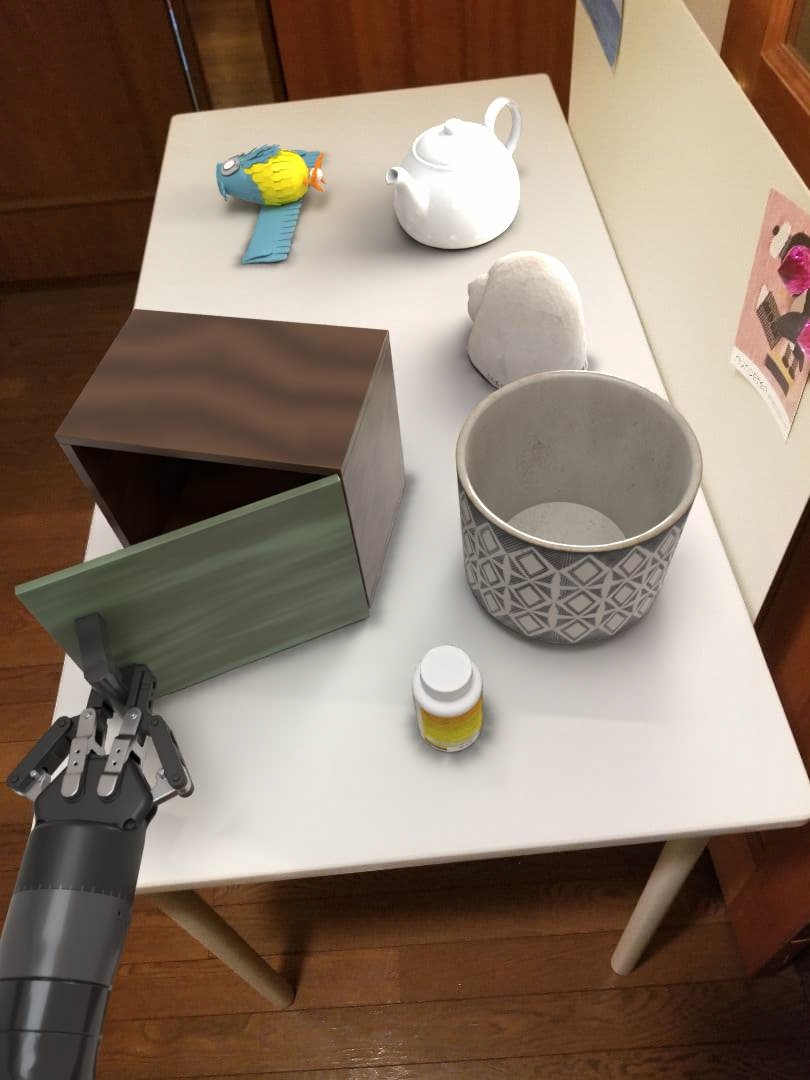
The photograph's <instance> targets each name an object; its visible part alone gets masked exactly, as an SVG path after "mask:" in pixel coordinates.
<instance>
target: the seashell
mask: <svg viewBox="0 0 810 1080" xmlns="http://www.w3.org/2000/svg"><path fill="white" fill-rule="evenodd" d="M467 296H468V300H467V312H468V313H467V314H468V316H469V318H470V320H471V321H472V323H473V325H472V328H471V332H470V333H469V334H470V335H469V337H468V341H467V354H468V357H469V358H470V361H471V363H472V365H473V366H474V367H475V368H476V369H477V370H478V371H479V372H480V374H482V376H483V377H484V378H485V379H486V380H487V381H488V382H489V383H490V384H491V385H492V386H493V387H495V388H497V389H500V388H501V387H503V386H505V385H507V384H509V383H512V382H514V381H516V380H519V379H522V378H525V377H528V376H531V375H535V374H540V373H545V372H552V371H563V370H582V371H588V368H589V362H588V357H587V349H586V348H587V347H586V335H585V332H586V331H585V330H586V329H585V320H584V319H585V318H584V312H583V311H584V310H583V305H582V300H581V297H580V293H579V289H578V287H577V285H576V283H575V281H574V279H573V277H572V275H571V274H570V272H569V271H568V269H567V268H566V267H565V265H564V264H563V263H561V262H560V261H559V260H558V259H556V258H555V257H553V256H551V255H548V254H546V253H542V252H538V251H534V250H526V251H525V250H523V251H522V250H521V251H516V252H513V253H509V254H507V255H504V256H502V257H501V258H499V259H498V260H497V261H495V262H494V263H493V264H492V266H491V267H490V269H488V271H487V272H486V273H482V274H480V275H477V276H476V277H475V278H474V279H473V280H471V281H470V282H469V283H468V284H467Z"/></svg>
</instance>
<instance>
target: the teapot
mask: <svg viewBox="0 0 810 1080" xmlns="http://www.w3.org/2000/svg"><path fill="white" fill-rule="evenodd" d="M505 106H506V107H507V109H509V111H510V114H511V129H510V132H509V136H508V139H507V140H506V143H505V145H504V144H503V143H502V142H501V141H500V140H499V139H498V138H497V136H496V134H495V131H494V127H495V126H494V125H495V120H496V118H497V115H498V114H499V112H500V110H502V109H503V107H505ZM482 122H483V124H479V123H476V122H472V121H462V120H461V119H459V118H449V119H448V120H446V121H445V122H444V123H442V124H438V125H436V126H433V127H430V128H429V129H427V130H424V131H423V132H422V133H420V134H419V135H418V136H417V137H416V138H415V140H414V141H413V143H412V145H411V147H409V149H408V151H407V152H406V153H405V155H404V157H402V159H401V162H400V164H399V166H394V167H391V168H389V169H388V170H387V171H386V172H385V175H384V182H385V183H386V184H387V186H393V206H394V210H395V211H394V212H395V214H396V217H397V220H398V223H399V224H400V226H401V227H402V229H403V230H404V231H405V232H406V234H408V235H409V236H410V237H411V238H412V239H414V240H415V241H416V242H419V243H421V244H422V245H425V246H429V247H434V248H437V249H447V250H459V249H469V248H473V247H477V246H480V245H483V244H486V243H488V242H490V241H492V240H494V239H495V238H497V237H499V236H500V235H501V234H502V233H504V232H505V231H506V230H507V229H508V227H509V226H510V225H511V224H512V222H513V221H514V219H515V217H516V215H517V211H518V208H519V202H520V179H519V173H518V169H517V166H516V164H515V162H514V160H513V157H512V156H513V155H514V152H515V150H516V148H517V146H518V143H519V141H520V139H521V135H522V131H523V116H522V112H521V109H520V108H519V105H518V104H517V103H516V101H515V100H513V99H512V98H510V97H507V96H499V97H497V98H496V99H493V101H492V102H491V103H490V105H489V106H488V107H487V109H486V111H485V114H484V118H483V121H482Z"/></svg>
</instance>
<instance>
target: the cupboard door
mask: <svg viewBox="0 0 810 1080" xmlns="http://www.w3.org/2000/svg"><path fill="white" fill-rule="evenodd" d="M14 594H15V596H16V598H17V599H18V600H19V601H20V602H21V603H22V604H23V605H24V607H25V608H26V609H27V610H28V611H29V612H30V614H31V615H32V616H33V617H34V618H35V619H36V620H37V622H38V623H39V624H40V625H41V626H42V628H43V629H44V630H45V631H46V632H47V633H48V634H49V636H50V637H51V638H52V639H53V640H54V641H55V642H56V644H57V645H58V646H59V647H60V648H61V649H62V650H63V651H64V652H65V654H66V655H67V656H68V657H69V658H70V659H71V661H72V662H73V663H74V664H75V665H76V666H77V667H78V669H79V670H80V671H81V672H82V673H83V678H84V680H85V681H86V682H87V684H88V685H89V686H91V687H92V688H93V689H94V690H95V691H96V692H97V693H98V695H99V696H100V697H101V698H102V699H103V700H104V701H105V702H106V704H107V705H108V706H109V707H110V708H111V709H112V710H113V712H114V714H115V715H116V716H117V718H119V720H120V721H121V722H122V723H123V720H124V716H125V713H126V711H127V710H128V709H127V708H126V707H125V705H126V701H127V696H128V692H129V688H130V684H131V679H132V675H133V671H134V667H135V665H136V664H146V665H147V666H148V667H149V669H150V670H151V672H152V673H153V675H154V676H155V678H156V679H157V683H158V686H157V691H156V696H155V700H156V699H158V698H161V697H164V696H167V695H169V694H171V693H174V692H177V691H179V690H181V689H184V688H187V687H189V686H192V685H195V684H197V683H200V682H203V681H205V680H207V679H210V678H213V677H215V676H218V675H221V674H223V673H226V672H229V671H231V670H234V669H236V668H239V667H243V666H244V665H247V664H250V663H253V662H255V661H258V660H260V659H262V658H265V657H267V656H270V655H273V654H275V653H278V652H281V651H284V650H286V649H288V648H291V647H294V646H296V645H300V644H301V643H304V642H307V641H309V640H311V639H314V638H317V637H320V636H322V635H325V634H327V633H329V632H332V631H336V630H338V629H341V628H343V627H346V626H348V625H352V624H354V623H356V622H358V621H361V620H364V619H367V618H369V617H370V612H369V608H368V606H367V602H366V597H365V592H364V588H363V583H362V579H361V574H360V569H359V565H358V560H357V556H356V551H355V546H354V542H353V537H352V533H351V528H350V523H349V519H348V514H347V510H346V505H345V500H344V496H343V491H342V487H341V482H340V479H339V477H338V475H337V474H335V475H332V476H329V477H326V478H323V479H320V480H318V481H315V482H312V483H309V484H306V485H303V486H300V487H298V488H295V489H292V490H289V491H286V492H283V493H280V494H278V495H275V496H272V497H269V498H266V499H263V500H261V501H258V502H255V503H252V504H249V505H246V506H243V507H241V508H238V509H235V510H232V511H229V512H226V513H224V514H221V515H218V516H215V517H212V518H209V519H206V520H204V521H201V522H198V523H195V524H192V525H189V526H186V527H184V528H181V529H178V530H175V531H172V532H169V533H167V534H164V535H161V536H158V537H155V538H152V539H149V540H147V541H144V542H141V543H138V544H135V545H132V546H129V547H127V548H121V549H119V550H115V551H113V552H109V553H107V554H104V555H100V556H98V557H96V558H93V559H90V560H87V561H83V562H81V563H78V564H75V565H72V566H70V567H67V568H64V569H61V570H59V571H56V572H53V573H50V574H47V575H45V576H41V577H38V578H36V579H33V580H30V581H26V582H24V583H22V584H18V585H16V586H14ZM115 665H116V667H117V668H118V669H119V671H120V672H121V674H122V681H121V680H120V679H119V677H118V676H117V674H116V669H115ZM91 687H90V688H91Z"/></svg>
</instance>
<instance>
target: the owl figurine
mask: <svg viewBox="0 0 810 1080" xmlns="http://www.w3.org/2000/svg"><path fill="white" fill-rule="evenodd" d="M280 146H281V145H280V144H276V143H274V144H272V145H268V144H264V145H263V146H260V147H258V146H255V147H254V148H253V149H251V150H250V151H249V152H247V153H246V152H242V153H241V154H235V155H233V156H230V157H228V158H227V159H226V160H225V161H223V162H221V163H220V162H217V163H216V168H215V178H216V183H217V187H218V191H219V194H220V196H222V197H223V199H224V201H225V202H227V201H228V196H231V197H234V198H237V199H240V200H242V201H247V202H251V203H253V204H254V203H255V204H260V205H261V208H260V211H259V215H258V216H257V220H256V223H255V227H254V230H253V233H252V235H251V238H250V242H249V245H248V248H247V251H246V253H245V254H243V256H242V258H241V260H242V261H241V265H246V264H247V265H248V264H266V263H273V262H281V261H284V260H286V259H287V258H288V254H287V253H289V252H290V251H291V248H290V247H289V246H291V244H292V240H290V239H292V238H293V237H294V234H293V232H295V230H296V228H295V226H296V225H297V221H296V220H298V219H299V215H298V214H300V211H301V210H300V209H301V208H302V204H301V203H302V202H303V201H304V199H303V196H304V195H305V194H306V193H307V192H308V189H309V185H310V186H311V187H312V188H313V189H314V190H316V191H318V192H321V193H324V192H325V191H324V189H323V188H322V186H321V185H320V183H319V182H321V183H322V184H323V185H326V184H327V183H326V180H325V177H324V175H323V174H324V173H323V170H322V169H321V168H322V163H323V161H322V160H323V158H324V155H325V151H323V152H321V151H308V152H306V151H305V150H303V149H292V150H288V149H286V148H281V147H280Z"/></svg>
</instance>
